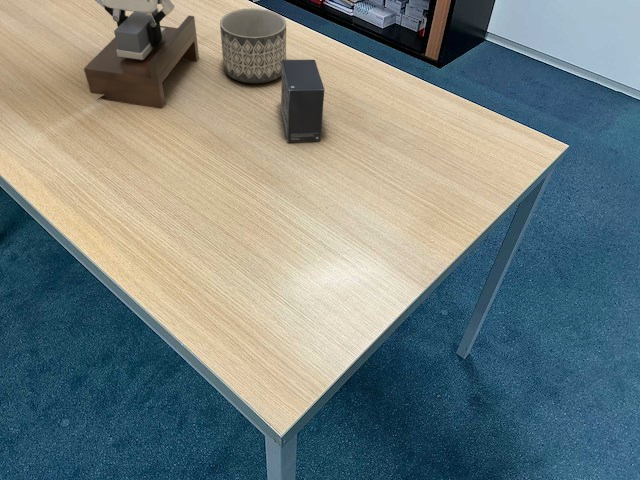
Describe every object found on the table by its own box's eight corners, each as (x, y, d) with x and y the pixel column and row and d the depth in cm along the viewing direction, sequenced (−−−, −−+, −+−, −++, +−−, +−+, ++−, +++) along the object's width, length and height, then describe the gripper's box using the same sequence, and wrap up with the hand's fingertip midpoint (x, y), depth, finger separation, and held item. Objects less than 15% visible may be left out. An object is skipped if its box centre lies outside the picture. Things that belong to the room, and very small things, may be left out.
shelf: (91, 97, 102) (79, 52, 96) (136, 49, 116) (127, 6, 110) (162, 108, 101) (154, 63, 95) (199, 58, 115) (194, 15, 108)
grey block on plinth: (143, 60, 100) (138, 34, 96) (117, 56, 100) (111, 31, 97) (166, 33, 107) (162, 9, 104) (142, 30, 108) (137, 6, 104)
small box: (323, 142, 96) (326, 89, 89) (286, 144, 95) (287, 90, 88) (313, 109, 104) (316, 57, 96) (279, 110, 103) (279, 58, 95)
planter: (211, 74, 110) (206, 24, 103) (250, 51, 118) (248, 2, 111) (260, 95, 106) (258, 44, 99) (297, 69, 114) (299, 20, 106)
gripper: (62, -62, 89) (90, 45, 102) (161, -49, 87) (177, 57, 100) (84, -75, 94) (108, 27, 107) (179, -64, 92) (191, 39, 105)
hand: (141, 41), depth 103 cm, fingers closed on grey block on plinth, 5 cm apart
